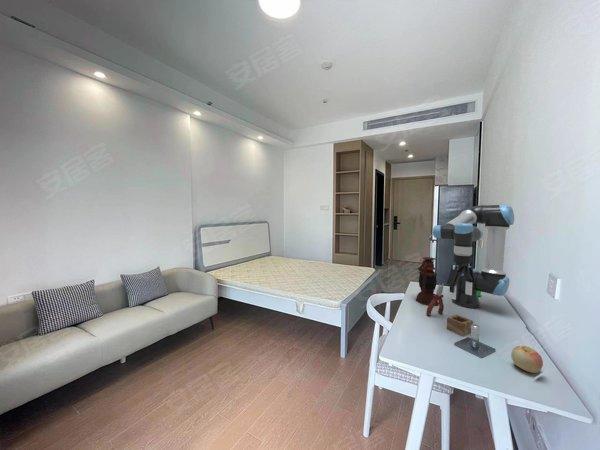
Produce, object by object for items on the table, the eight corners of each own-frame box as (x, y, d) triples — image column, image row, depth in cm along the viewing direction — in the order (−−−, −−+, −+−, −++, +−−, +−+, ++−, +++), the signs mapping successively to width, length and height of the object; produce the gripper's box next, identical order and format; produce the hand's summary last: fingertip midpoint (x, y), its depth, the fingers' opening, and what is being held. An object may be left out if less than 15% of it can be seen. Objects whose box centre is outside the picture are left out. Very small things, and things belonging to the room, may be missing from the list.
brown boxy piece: (456, 325, 127) (456, 314, 127) (472, 332, 120) (473, 320, 120) (446, 329, 124) (447, 317, 123) (463, 336, 116) (463, 324, 116)
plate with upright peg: (468, 339, 114) (469, 318, 113) (495, 351, 104) (496, 328, 104) (454, 344, 109) (455, 323, 108) (481, 358, 99) (482, 334, 99)
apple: (527, 362, 97) (528, 343, 96) (549, 377, 88) (550, 356, 87) (504, 361, 97) (505, 342, 97) (523, 376, 88) (525, 355, 88)
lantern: (434, 309, 148) (436, 261, 146) (411, 303, 158) (412, 258, 156) (442, 301, 161) (443, 257, 159) (420, 296, 170) (421, 254, 169)
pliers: (436, 284, 133) (432, 282, 135) (428, 317, 137) (424, 314, 139) (451, 283, 137) (446, 281, 139) (443, 314, 141) (439, 312, 143)
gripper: (468, 251, 128) (467, 290, 130) (439, 255, 117) (437, 298, 118) (484, 253, 122) (482, 295, 123) (455, 257, 110) (453, 303, 112)
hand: (460, 296), depth 121 cm, fingers open, 13 cm apart
